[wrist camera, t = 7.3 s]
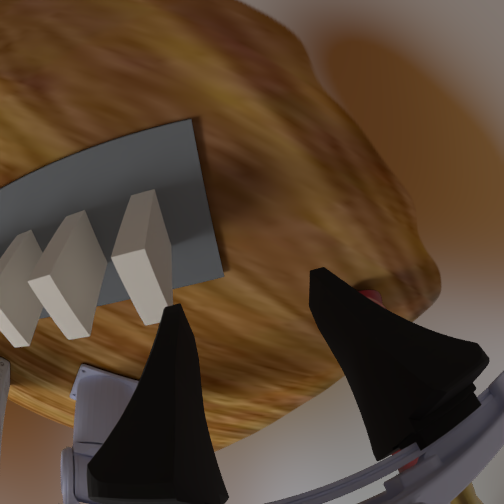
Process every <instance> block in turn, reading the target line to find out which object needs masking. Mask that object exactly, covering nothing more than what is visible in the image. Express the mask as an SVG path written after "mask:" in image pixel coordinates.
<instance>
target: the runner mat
mask: <svg viewBox="0 0 504 504" xmlns="http://www.w3.org/2000/svg"><path fill="white" fill-rule="evenodd" d="M153 189H155V192H156V196H157V200H158V203H159V207H160V210H161V213H162V217H163V220H164V224H165V227H166V230H167V233H168V237H169V240H170V243H171V251H172V289H175V288H179V287H184V286H188V285H192V284H196V283H200V282H205V281H209V280H213V279H217V278H221V277H224V273H223V269H222V265H221V260H220V256H219V252H218V247H217V243H216V238H215V234H214V229H213V225H212V220H211V216H210V211H209V206H208V201H207V197H206V192H205V187H204V182H203V177H202V172H201V167H200V162H199V157H198V152H197V147H196V142H195V136H194V131H193V126H192V120H191V119H186V120H182V121H177V122H173V123H169V124H165V125H161V126H157V127H154V128H150V129H146V130H143V131H139V132H136V133H133V134H129V135H126V136H123V137H120V138H117V139H113V140H110V141H108V142H105V143H102V144H99V145H96V146H93V147H91V148H88V149H85V150H83V151H80V152H77V153H75V154H72V155H70V156H67V157H65V158H62V159H60V160H58V161H55V162H53V163H51V164H49V165H46V166H44V167H42V168H40V169H38V170H35V171H33V172H31V173H29V174H27V175H25V176H23V177H21V178H19V179H17V180H15V181H13V182H11V183H10V184H8V185H6V186H4V187H2V188H0V258H1V257H2V255H3V254H4V252H5V251H6V250H7V248H8V247H9V245H10V244H11V243H12V241H13V240H14V239H15V237H16V236H17V235H19V234H21V233H24V232H26V231H29V230H32V232H33V234H34V236H35V238H36V241H37V243H38V245H39V247H40V248H41V250H42V252H44V250H45V249H46V247H47V245H48V244H49V242H50V240H51V239H52V237H53V236H54V234H55V232H56V231H57V229H58V228H59V226H60V225H61V223H62V222H63V220H64V219H65V217H66V216H69V215H71V214H74V213H77V212H80V211H83V210H85V211H86V214H87V216H88V219H89V221H90V224H91V226H92V229H93V231H94V233H95V236H96V238H97V240H98V243H99V245H100V247H101V249H102V252H103V254H104V256H105V258H106V260H107V262H108V263H107V266H106V270H105V274H104V277H103V281H102V285H101V289H100V293H99V297H98V301H97V306H101V305H105V304H110V303H114V302H119V301H123V300H128V299H131V298H130V296H129V294H128V292H127V290H126V288H125V286H124V284H123V282H122V280H121V278H120V276H119V274H118V272H117V270H116V268H115V266H114V263H113V261H112V259H111V255H112V252H113V248H114V245H115V242H116V238H117V235H118V232H119V229H120V226H121V223H122V220H123V217H124V214H125V211H126V208H127V205H128V203H129V200H130V197H131V195H134V194H138V193H141V192H145V191H149V190H153ZM45 317H50V315H49V313H48V312H47V311H46V309H45V308H44V306H43V309H42V312H41V314H40V317H39V319H40V318H45Z"/></svg>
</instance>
